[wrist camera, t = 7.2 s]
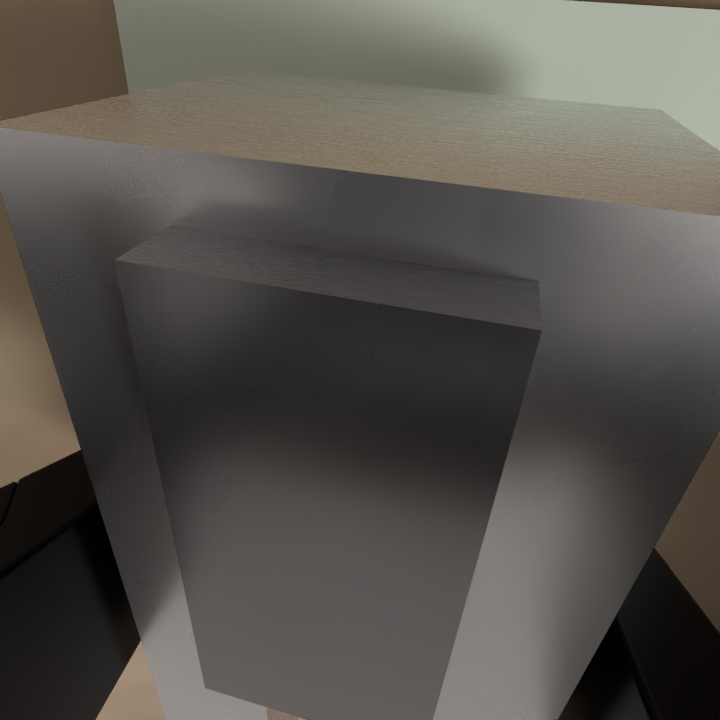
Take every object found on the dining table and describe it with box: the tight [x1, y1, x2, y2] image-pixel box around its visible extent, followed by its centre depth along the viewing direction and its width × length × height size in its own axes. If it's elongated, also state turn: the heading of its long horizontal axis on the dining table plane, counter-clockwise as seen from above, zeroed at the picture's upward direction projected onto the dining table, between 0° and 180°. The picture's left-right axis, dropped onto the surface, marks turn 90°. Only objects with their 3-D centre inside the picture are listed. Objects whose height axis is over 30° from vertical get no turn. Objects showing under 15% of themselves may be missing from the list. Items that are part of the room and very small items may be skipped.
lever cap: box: [0, 71, 720, 720], centre depth 7 cm, size 10×5×5 cm, turn 177°
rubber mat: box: [113, 0, 720, 151], centre depth 11 cm, size 12×10×1 cm
